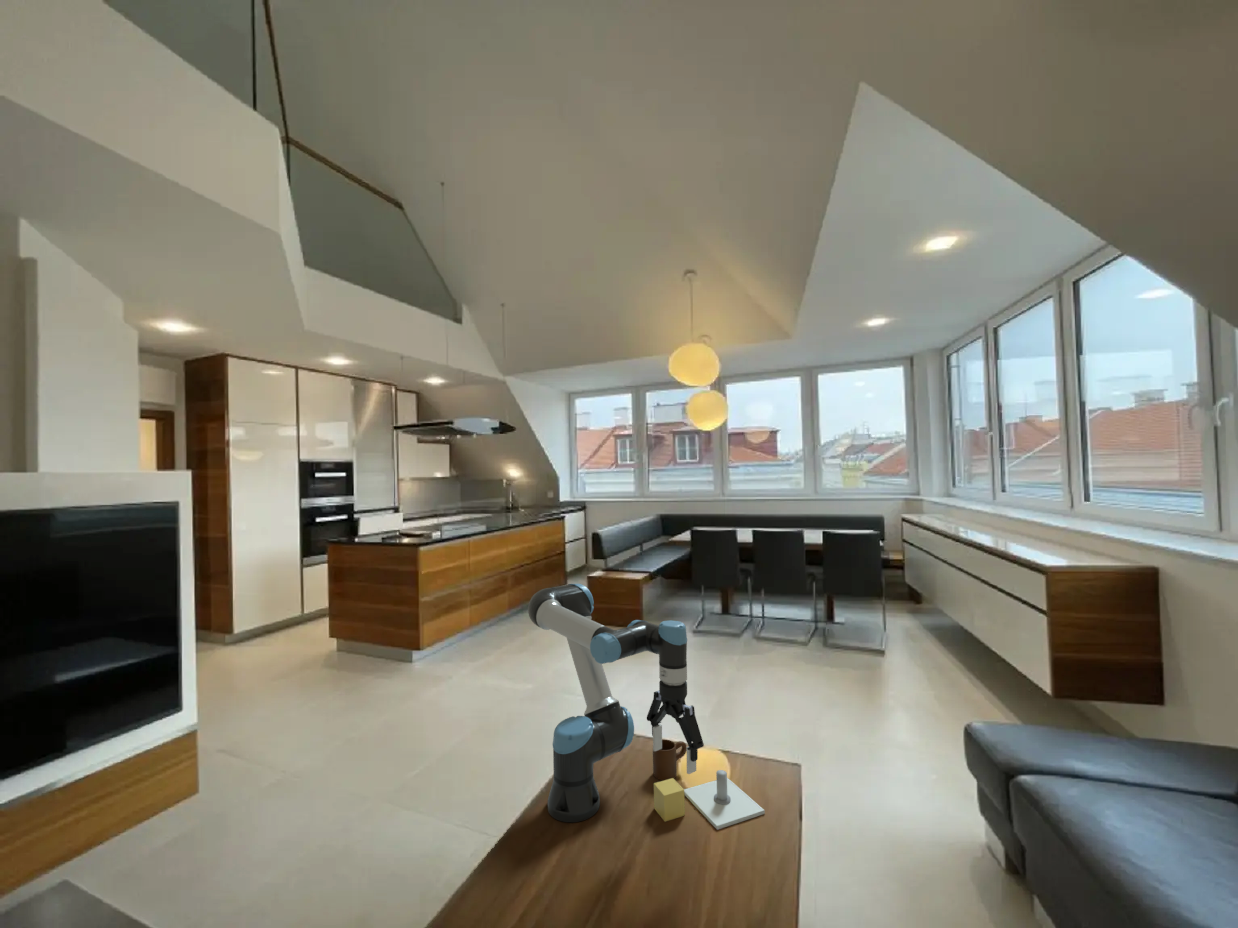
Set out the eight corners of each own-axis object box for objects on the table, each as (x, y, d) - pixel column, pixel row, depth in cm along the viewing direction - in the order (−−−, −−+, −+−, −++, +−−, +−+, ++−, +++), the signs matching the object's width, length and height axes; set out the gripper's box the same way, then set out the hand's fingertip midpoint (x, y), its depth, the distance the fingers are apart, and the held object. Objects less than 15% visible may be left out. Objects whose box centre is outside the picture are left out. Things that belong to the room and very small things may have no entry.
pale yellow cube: (654, 808, 144) (653, 783, 145) (673, 802, 147) (673, 777, 147) (664, 821, 139) (664, 795, 139) (684, 815, 141) (684, 789, 141)
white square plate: (682, 793, 151) (682, 763, 152) (726, 780, 158) (726, 752, 158) (717, 829, 135) (716, 796, 135) (764, 813, 141) (763, 782, 142)
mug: (680, 762, 168) (680, 734, 169) (692, 774, 161) (692, 744, 162) (649, 771, 163) (648, 741, 164) (660, 783, 156) (659, 752, 157)
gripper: (634, 669, 144) (634, 745, 143) (695, 699, 124) (696, 787, 123) (654, 664, 148) (654, 737, 147) (716, 692, 128) (717, 777, 127)
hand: (673, 760), depth 135 cm, fingers open, 13 cm apart
